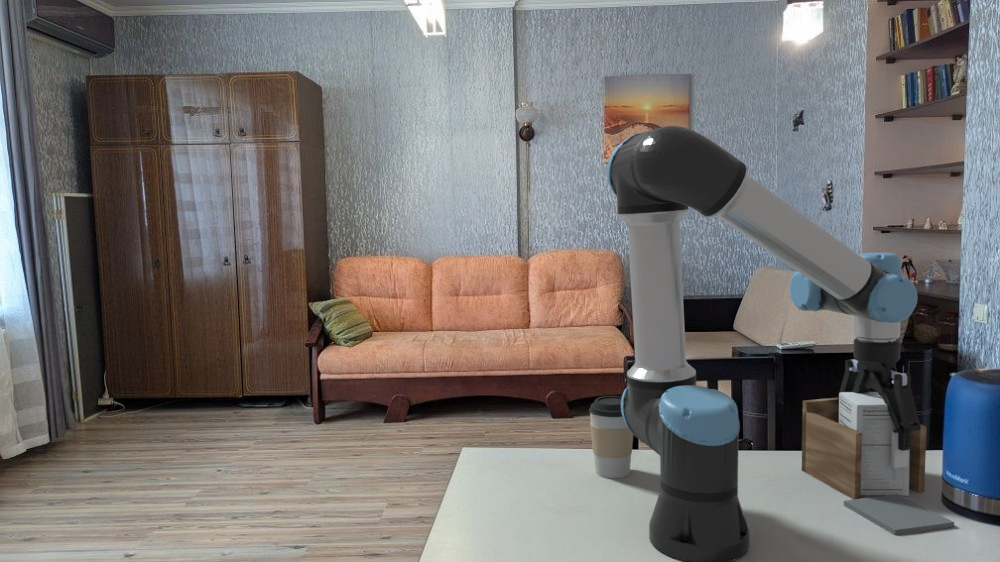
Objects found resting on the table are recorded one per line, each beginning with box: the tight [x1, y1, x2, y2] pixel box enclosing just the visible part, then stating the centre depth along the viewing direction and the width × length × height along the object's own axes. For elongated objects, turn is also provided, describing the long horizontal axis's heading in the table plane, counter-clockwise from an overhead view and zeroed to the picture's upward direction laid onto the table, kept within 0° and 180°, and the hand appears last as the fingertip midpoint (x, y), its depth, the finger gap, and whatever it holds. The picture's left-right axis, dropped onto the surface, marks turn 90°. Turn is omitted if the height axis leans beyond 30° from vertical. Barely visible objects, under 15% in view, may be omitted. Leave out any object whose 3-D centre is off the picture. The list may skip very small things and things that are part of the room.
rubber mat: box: [843, 494, 955, 536], centre depth 122 cm, size 11×12×1 cm
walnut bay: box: [801, 397, 927, 500], centre depth 137 cm, size 14×15×14 cm
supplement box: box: [838, 391, 910, 497], centre depth 134 cm, size 10×9×17 cm
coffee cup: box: [588, 395, 634, 479], centre depth 144 cm, size 9×9×15 cm
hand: (875, 455), depth 134 cm, fingers open, 11 cm apart
